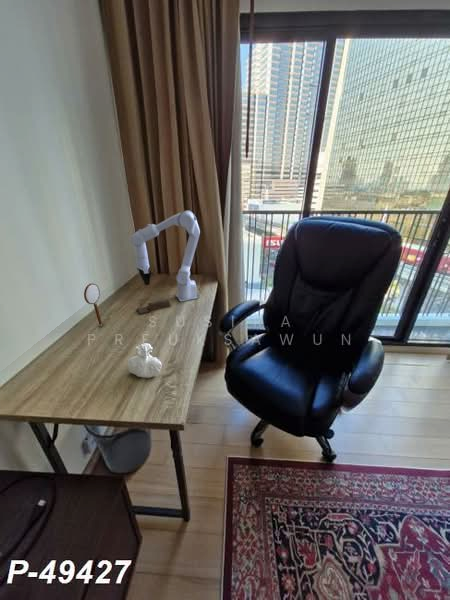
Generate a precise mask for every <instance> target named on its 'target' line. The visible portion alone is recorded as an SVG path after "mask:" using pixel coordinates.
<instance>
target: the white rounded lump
mask: <svg viewBox="0 0 450 600" xmlns="http://www.w3.org/2000/svg"><path fill="white" fill-rule="evenodd" d="M153 348H154V347H153V346H152V345H151V343H148V342H143V343H141V344H139V345H138V346H135V347H134V349H136V351H137V352H136V353H137V355H135V356H132V357H130V358H129V359H128V360H127V370H128V371H129V373H131V374H133V375H135V376H136V377H138V378H147V379H150V378H152V377H153V378H154V377H158V376H160V373H161V371H162V367H163V363H162V361H161V360H160V359H158V358H157V357H156V356H155V357H154V356H153V355H151V354H150V353H153V350H154V349H153Z"/></svg>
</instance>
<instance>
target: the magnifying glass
mask: <svg viewBox="0 0 450 600" xmlns="http://www.w3.org/2000/svg"><path fill="white" fill-rule="evenodd" d="M100 295H101V291H100V288H99V286H98V285H97V284H96V283H89V284H87V285H86V287H85V288H84V291H83V298H84V301H85V303H87V304H88V305H93V308H94V311H95V314H96V318H97V322H98V324H99V326H100V327H101V326H102V325H103V321H102V317H101V313H100V311H99V307H98V304H97V303H98V301H99V299H100Z"/></svg>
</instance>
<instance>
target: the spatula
mask: <svg viewBox="0 0 450 600" xmlns="http://www.w3.org/2000/svg"><path fill="white" fill-rule="evenodd" d="M169 307H171V303H170V300H169V298H166V299H162V300H157V301H151V302H148V303H147V306H145V307H140V308H137V311H138V313H139V315H143V314H148V313H151V311H155V310H159V309H164V308H169Z"/></svg>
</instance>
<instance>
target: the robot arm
mask: <svg viewBox="0 0 450 600" xmlns="http://www.w3.org/2000/svg"><path fill="white" fill-rule="evenodd" d="M172 226H178V227H180V226H181V227H182V228H183V229H185V230H186V232H187V233H188V235H189V236H188V239H187V244H186V247H185V251H184V255H183V259H182V261H181V265H180V268H179V269H178V272H177V275H176V277H175V280H176V283H177V284H176V285H177V294H176V297H177V299H178V300H179V302H186V301H191V300H195V299H198V294H197V293H198V291H197V284H196V281H195V280H194V279H193V280H191V278H190V277H191V266H192V263H193V259H194V257H195V253H196V249H197V245H198V242H199V238H200V234H201V230H200V226H199V224H198V220H197V217H196V215H195V214H194V213H193V212H192V210H188V209H187V210H184V211H183V212H181V211H180V212H179V213H176V214H174V215H172V216H170V217H168V218H167V219H165V220H163V221H161V222H159V223H158V224H154V223H151V224H150V223H148V224H147V225H146V227H143V228H139V229H138V230H137V231H135V232H134V233H133V234H132V235H131V236H130V242H131V244H132V245H133V251H134V255H135V262H136V265H134V268H135V269H137V270H138V272H139V275H140V277H141V279H142V281H143V284H144V286H150V283H151V276H152V271H149V268H150V263H149V262H150V261H149V256H148V249H147V245H146V242H148V241H150V240H152V239H155V238H156V237H158V236H159V235H160V232H162V231H163V230H166V229H168V228H170V227H172Z"/></svg>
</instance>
